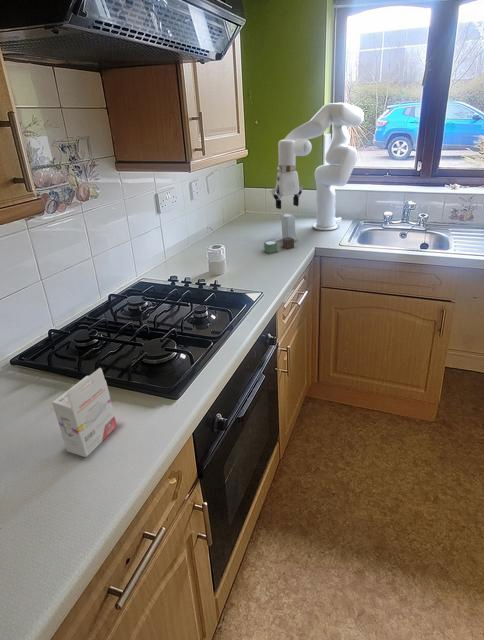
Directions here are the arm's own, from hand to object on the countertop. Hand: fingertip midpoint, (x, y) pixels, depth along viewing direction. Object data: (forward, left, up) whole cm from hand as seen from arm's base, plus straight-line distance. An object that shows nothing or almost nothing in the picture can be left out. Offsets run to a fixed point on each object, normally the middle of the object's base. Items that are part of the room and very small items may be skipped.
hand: (287, 207), depth 187 cm
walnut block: (+6, +8, -16) cm, 19 cm away
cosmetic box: (0, 0, -16) cm, 16 cm away
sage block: (+15, +8, -16) cm, 23 cm away
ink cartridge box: (+104, +79, -16) cm, 131 cm away
